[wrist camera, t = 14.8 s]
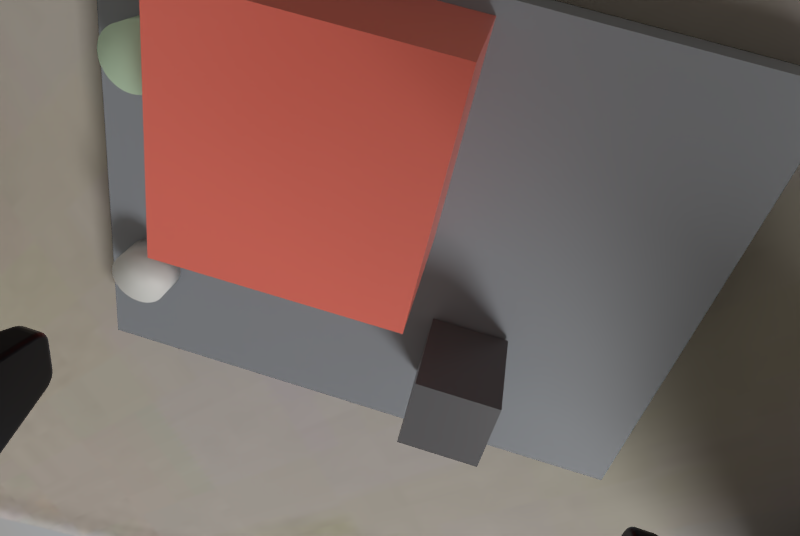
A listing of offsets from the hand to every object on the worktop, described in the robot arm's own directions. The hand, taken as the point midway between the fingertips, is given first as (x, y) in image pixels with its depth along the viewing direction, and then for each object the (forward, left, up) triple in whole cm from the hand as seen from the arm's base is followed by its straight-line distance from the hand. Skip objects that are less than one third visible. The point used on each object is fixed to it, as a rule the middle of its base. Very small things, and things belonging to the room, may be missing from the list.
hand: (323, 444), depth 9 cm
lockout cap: (+3, -2, -9) cm, 10 cm away
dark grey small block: (-2, +5, -9) cm, 11 cm away
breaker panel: (+1, +2, -11) cm, 11 cm away
